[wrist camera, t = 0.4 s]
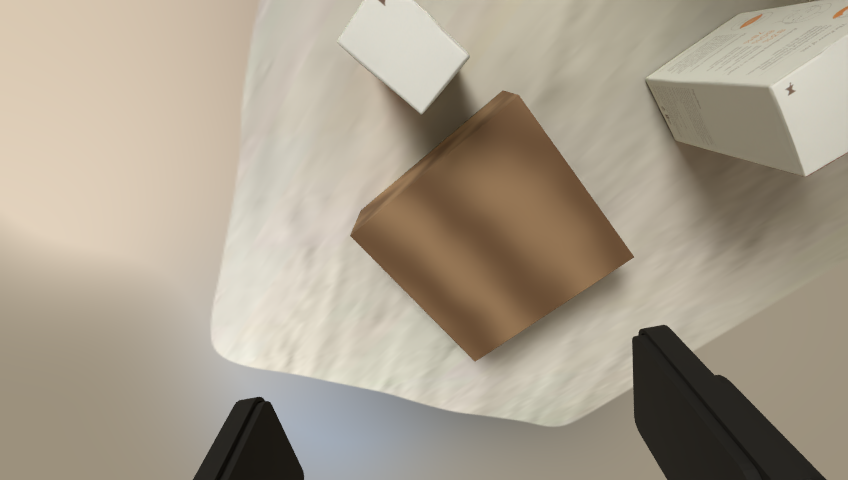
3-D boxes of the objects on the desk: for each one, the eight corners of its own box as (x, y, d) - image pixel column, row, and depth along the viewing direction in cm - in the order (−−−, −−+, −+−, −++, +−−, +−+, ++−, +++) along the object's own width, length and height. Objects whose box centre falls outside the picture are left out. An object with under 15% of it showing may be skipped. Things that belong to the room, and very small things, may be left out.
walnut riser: (503, 90, 34) (518, 95, 28) (603, 229, 38) (634, 257, 33) (360, 210, 37) (350, 235, 32) (468, 323, 42) (475, 361, 37)
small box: (674, 142, 35) (804, 181, 23) (642, 78, 33) (766, 84, 21) (768, 81, 33) (962, 90, 21) (740, 10, 31) (937, -24, 19)
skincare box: (362, 49, 32) (331, 39, 21) (396, 1, 31) (381, -35, 20) (421, 101, 34) (421, 117, 23) (456, 57, 33) (473, 53, 22)
